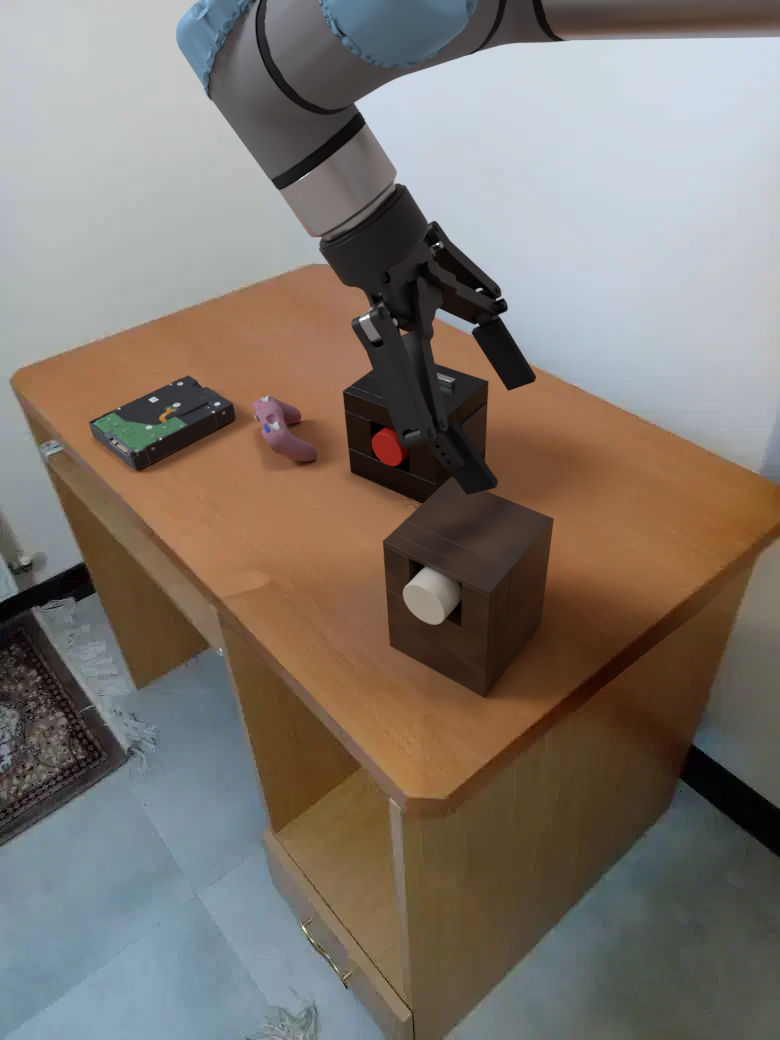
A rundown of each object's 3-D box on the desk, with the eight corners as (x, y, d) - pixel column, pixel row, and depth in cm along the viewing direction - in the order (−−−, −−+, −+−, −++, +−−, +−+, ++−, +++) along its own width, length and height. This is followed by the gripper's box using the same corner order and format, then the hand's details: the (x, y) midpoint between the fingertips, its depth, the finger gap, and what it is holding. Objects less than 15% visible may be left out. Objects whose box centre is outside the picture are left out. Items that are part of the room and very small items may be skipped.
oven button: (416, 459, 86) (415, 428, 83) (402, 471, 84) (401, 440, 82) (386, 447, 88) (385, 417, 85) (372, 458, 86) (370, 428, 84)
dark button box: (486, 463, 91) (490, 374, 84) (438, 510, 85) (437, 420, 78) (401, 430, 97) (397, 344, 89) (350, 472, 91) (341, 384, 83)
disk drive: (191, 392, 106) (92, 439, 98) (187, 373, 104) (85, 420, 97) (238, 420, 100) (136, 473, 93) (234, 402, 99) (130, 454, 91)
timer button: (462, 612, 64) (463, 577, 61) (444, 632, 62) (444, 598, 60) (421, 592, 66) (420, 557, 63) (403, 611, 64) (401, 576, 61)
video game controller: (273, 434, 100) (241, 397, 96) (303, 413, 100) (271, 375, 95) (290, 479, 93) (255, 442, 88) (322, 458, 93) (288, 419, 88)
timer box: (541, 623, 73) (554, 518, 64) (484, 697, 67) (490, 592, 58) (450, 580, 78) (451, 476, 69) (389, 645, 72) (382, 541, 63)
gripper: (377, 161, 66) (501, 360, 76) (243, 326, 50) (422, 549, 60) (450, 116, 61) (572, 334, 71) (327, 282, 46) (506, 531, 56)
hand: (503, 433), depth 66 cm, fingers open, 13 cm apart
